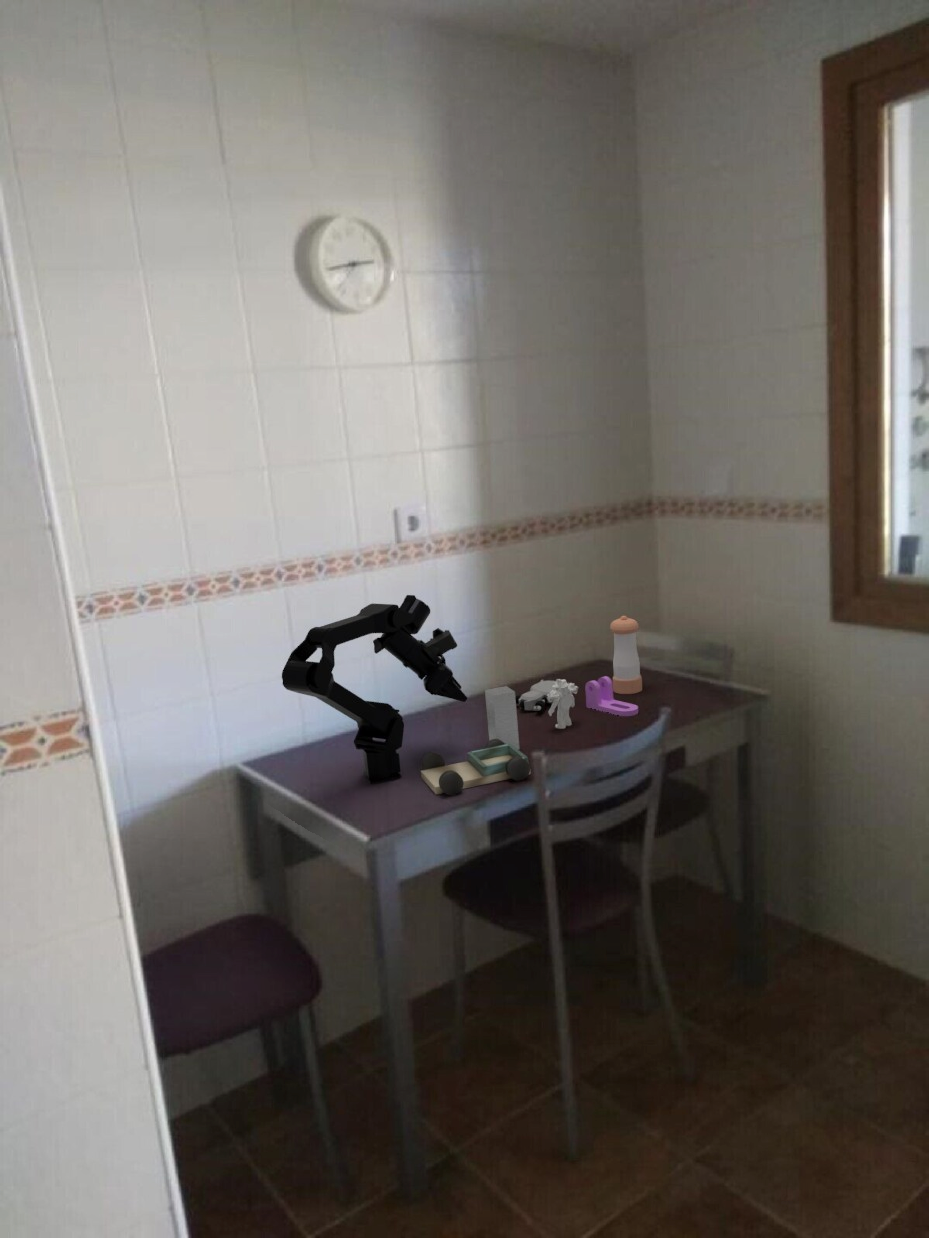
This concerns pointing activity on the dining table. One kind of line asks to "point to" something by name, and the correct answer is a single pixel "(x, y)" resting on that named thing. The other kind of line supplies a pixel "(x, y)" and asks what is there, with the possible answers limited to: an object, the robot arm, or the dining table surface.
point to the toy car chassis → (475, 768)
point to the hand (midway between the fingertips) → (463, 694)
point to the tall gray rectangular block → (502, 715)
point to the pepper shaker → (626, 657)
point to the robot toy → (536, 696)
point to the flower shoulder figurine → (562, 702)
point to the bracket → (606, 698)
